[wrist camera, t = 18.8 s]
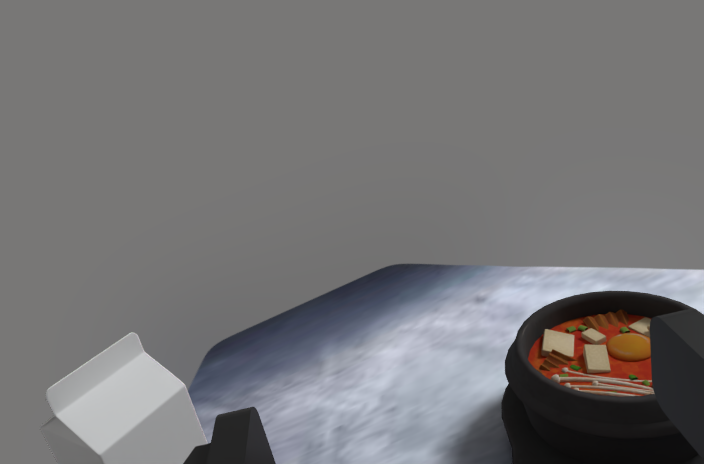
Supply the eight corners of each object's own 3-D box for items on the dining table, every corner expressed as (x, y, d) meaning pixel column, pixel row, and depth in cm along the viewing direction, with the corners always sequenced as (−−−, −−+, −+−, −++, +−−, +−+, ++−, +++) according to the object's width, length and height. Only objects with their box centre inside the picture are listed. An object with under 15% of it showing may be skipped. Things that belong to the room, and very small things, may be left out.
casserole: (758, 592, 37) (763, 485, 34) (460, 514, 47) (442, 425, 44) (751, 348, 56) (754, 266, 53) (541, 329, 66) (533, 258, 63)
